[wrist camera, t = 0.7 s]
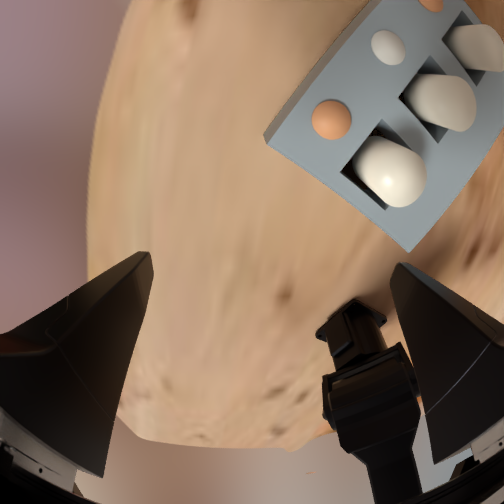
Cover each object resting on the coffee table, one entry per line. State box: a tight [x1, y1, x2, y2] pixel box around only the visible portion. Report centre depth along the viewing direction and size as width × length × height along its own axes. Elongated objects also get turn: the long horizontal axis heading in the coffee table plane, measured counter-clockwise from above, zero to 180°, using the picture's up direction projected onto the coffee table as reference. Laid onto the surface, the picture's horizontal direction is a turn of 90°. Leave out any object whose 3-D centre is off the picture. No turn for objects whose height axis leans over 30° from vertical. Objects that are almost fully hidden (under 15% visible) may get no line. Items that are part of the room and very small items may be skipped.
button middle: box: [403, 74, 477, 132], centre depth 13 cm, size 4×4×4 cm
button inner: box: [352, 136, 427, 207], centre depth 15 cm, size 4×4×4 cm
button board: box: [263, 0, 504, 253], centre depth 15 cm, size 14×20×4 cm
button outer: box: [442, 24, 504, 72], centre depth 10 cm, size 4×4×4 cm
